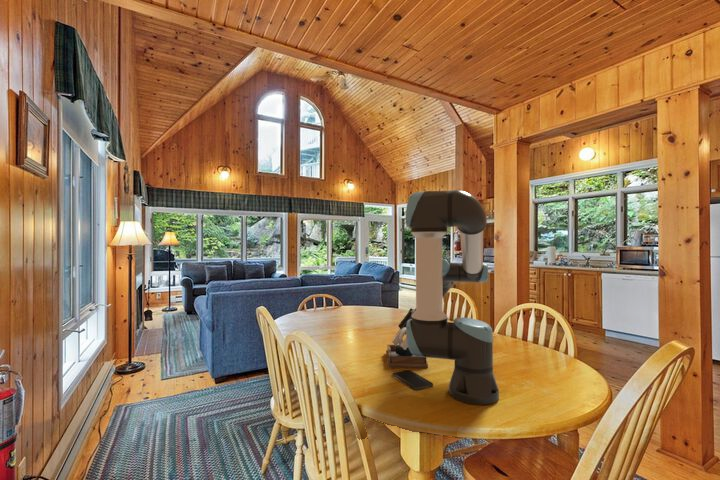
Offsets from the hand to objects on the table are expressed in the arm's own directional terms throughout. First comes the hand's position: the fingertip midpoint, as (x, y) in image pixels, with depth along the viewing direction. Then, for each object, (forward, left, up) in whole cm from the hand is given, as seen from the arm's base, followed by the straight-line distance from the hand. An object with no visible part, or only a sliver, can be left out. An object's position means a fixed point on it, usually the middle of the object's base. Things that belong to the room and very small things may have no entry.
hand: (398, 345), depth 144 cm
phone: (-19, -3, -7) cm, 20 cm away
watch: (+2, -3, -4) cm, 5 cm away
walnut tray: (+2, -3, -7) cm, 7 cm away
